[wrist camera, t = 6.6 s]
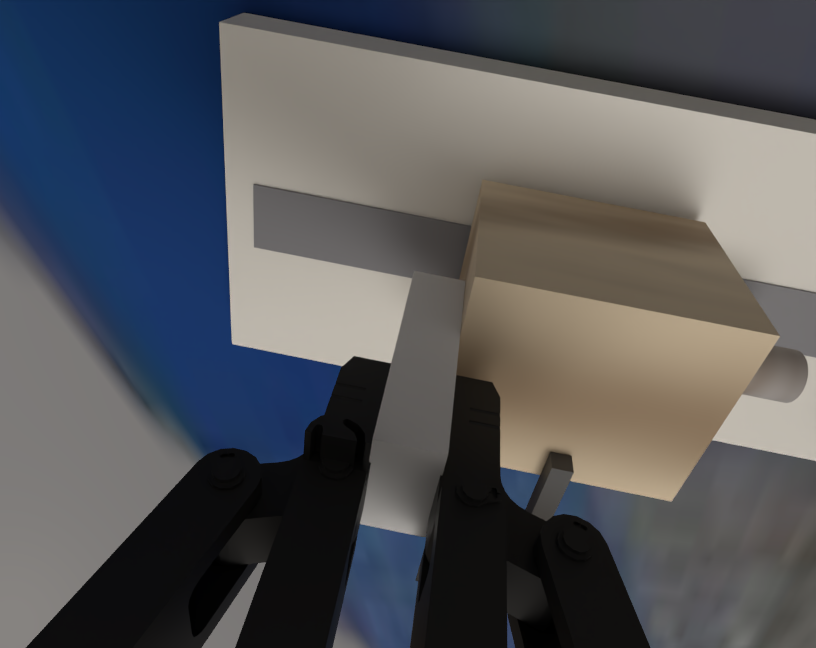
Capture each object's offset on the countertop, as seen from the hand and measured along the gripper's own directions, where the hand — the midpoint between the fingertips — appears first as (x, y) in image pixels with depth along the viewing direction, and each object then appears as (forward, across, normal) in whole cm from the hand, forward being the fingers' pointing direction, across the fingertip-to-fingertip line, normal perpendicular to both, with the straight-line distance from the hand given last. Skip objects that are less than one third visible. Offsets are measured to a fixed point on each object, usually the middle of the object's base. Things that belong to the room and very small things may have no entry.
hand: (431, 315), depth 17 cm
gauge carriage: (+3, +6, -2) cm, 7 cm away
